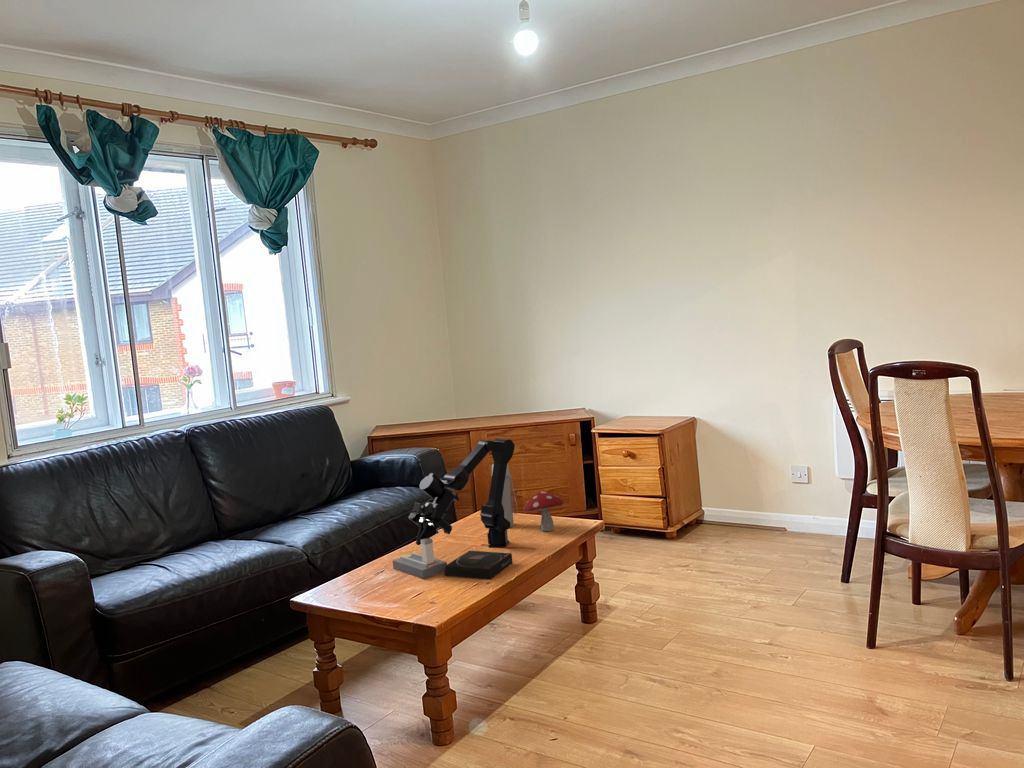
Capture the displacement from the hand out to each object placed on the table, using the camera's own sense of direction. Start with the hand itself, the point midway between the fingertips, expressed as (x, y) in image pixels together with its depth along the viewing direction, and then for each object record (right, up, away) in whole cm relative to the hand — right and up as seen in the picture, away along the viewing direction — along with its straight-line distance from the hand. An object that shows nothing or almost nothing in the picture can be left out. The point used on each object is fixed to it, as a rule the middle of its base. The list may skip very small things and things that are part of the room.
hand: (417, 544), depth 270 cm
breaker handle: (+4, -6, -1) cm, 7 cm away
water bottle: (+30, -3, +49) cm, 58 cm away
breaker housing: (+1, -9, +3) cm, 10 cm away
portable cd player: (+21, -9, -2) cm, 23 cm away
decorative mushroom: (+45, -2, +38) cm, 59 cm away
